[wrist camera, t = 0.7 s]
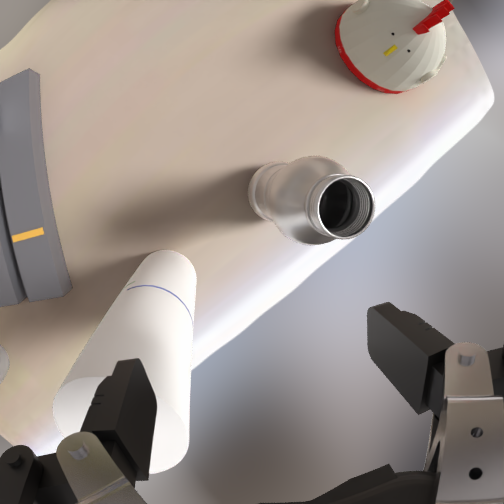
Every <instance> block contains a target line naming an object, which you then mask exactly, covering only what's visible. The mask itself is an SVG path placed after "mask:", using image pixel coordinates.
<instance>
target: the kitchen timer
mask: <svg viewBox="0 0 504 504" xmlns="http://www.w3.org/2000/svg"><path fill="white" fill-rule="evenodd" d="M453 9H454V7H453V5H452V4H451V3H450V2H449V1H448V0H444V1H442V2H440V3H439V4H437V5H436V6H435V7H433V8H432V7H430V6H429V5H428V4H427V3H425V2H423V1H421V0H358V1H357V2H355V3H354V4H353V5H351V6H350V7H348V9H347V10H346V11H345V12H344V13H343V14H342V15H341V17H340V18H339V19H338V20H337V24H336V28H335V41H336V46H337V48H338V51H339V54H340V56H341V58H342V60H343V61H344V63H345V64H346V66H347V67H348V69H349V70H350V71H351V72H352V73H353V74H354V75H355V76H356V77H357V78H358V79H359V80H360V81H362V82H363V83H365V84H367V85H368V86H370V87H371V88H373V89H376V90H378V91H381V92H384V93H394V94H398V93H401V92H405V91H408V90H411V89H414V88H416V87H417V86H419V85H420V84H421V83H423V84H424V83H425V82H427V81H428V80H429V79H431V78H432V77H434V76H435V75H437V72H438V71H439V69H440V68H441V66H442V65H443V63H444V62H445V60H446V55H444V52H445V48H446V32H445V27H444V24H443V22H442V20H441V19H442V18H444V17H445V16H447V15H449V14H450V13H449V12H450V11H451V10H453Z"/></svg>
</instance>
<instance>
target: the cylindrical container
mask: <svg viewBox="0 0 504 504" xmlns="http://www.w3.org/2000/svg"><path fill="white" fill-rule="evenodd" d="M196 279H197V278H196V272H195V270H194V267H193V265H192V264H191V262H190V261H189V260H188V259H187V258H186V257H185V256H183V255H182V254H180V253H178V252H176V251H172V250H159V251H156V252H153V253H151V254H150V255H148V256H147V257H146V258H145V259H144V260H143V261H142V263H141V264H140V265H139V267H138V268H137V270H136V271H135V272H134V274H133V275H132V277H131V278H130V279H129V281H128V282H127V284H126V285H125V286H124V288H123V289H122V291H121V292H120V294H119V295H118V297H117V298H116V299H115V301H114V302H113V304H112V305H111V307H110V308H109V310H108V311H107V313H106V314H105V316H104V317H103V319H102V321H101V322H100V324H99V325H98V327H97V328H96V330H95V331H94V333H93V334H92V336H91V338H90V339H89V341H88V342H87V344H86V346H85V347H84V349H83V350H82V352H81V354H80V355H79V357H78V358H77V360H76V362H75V363H74V365H73V367H72V368H71V370H70V372H69V373H68V375H67V377H66V378H65V380H64V382H63V384H62V385H61V387H60V389H59V391H58V392H57V394H56V396H55V398H54V402H53V407H52V408H53V417H54V420H55V423H56V425H57V428H58V429H59V431H60V433H61V434H62V436H63V437H64V438H66V437H67V436H69V435H71V434H73V433H77V432H80V429H81V427H82V424H83V422H84V419H85V416H86V414H87V411H88V409H89V406H90V405H91V401H92V399H93V397H94V394H95V392H96V389H97V387H98V385H99V384H100V383H101V382H102V381H103V380H104V379H105V378H106V377H107V376H112V373H113V371H114V368H115V366H116V363H117V361H120V360H127V359H134V358H139V359H140V360H141V362H142V364H143V366H144V369H145V371H146V374H147V376H148V379H149V381H150V383H151V386H152V388H153V390H154V393H155V396H156V400H157V415H156V422H155V429H154V436H153V444H152V452H151V460H150V469H149V474H153V473H158V472H161V471H164V470H167V469H169V468H171V467H173V466H175V465H176V464H177V463H179V462H180V461H181V460H182V458H183V457H184V455H185V454H186V452H187V449H188V445H189V414H190V382H191V360H192V341H193V324H194V308H195V294H196Z"/></svg>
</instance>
